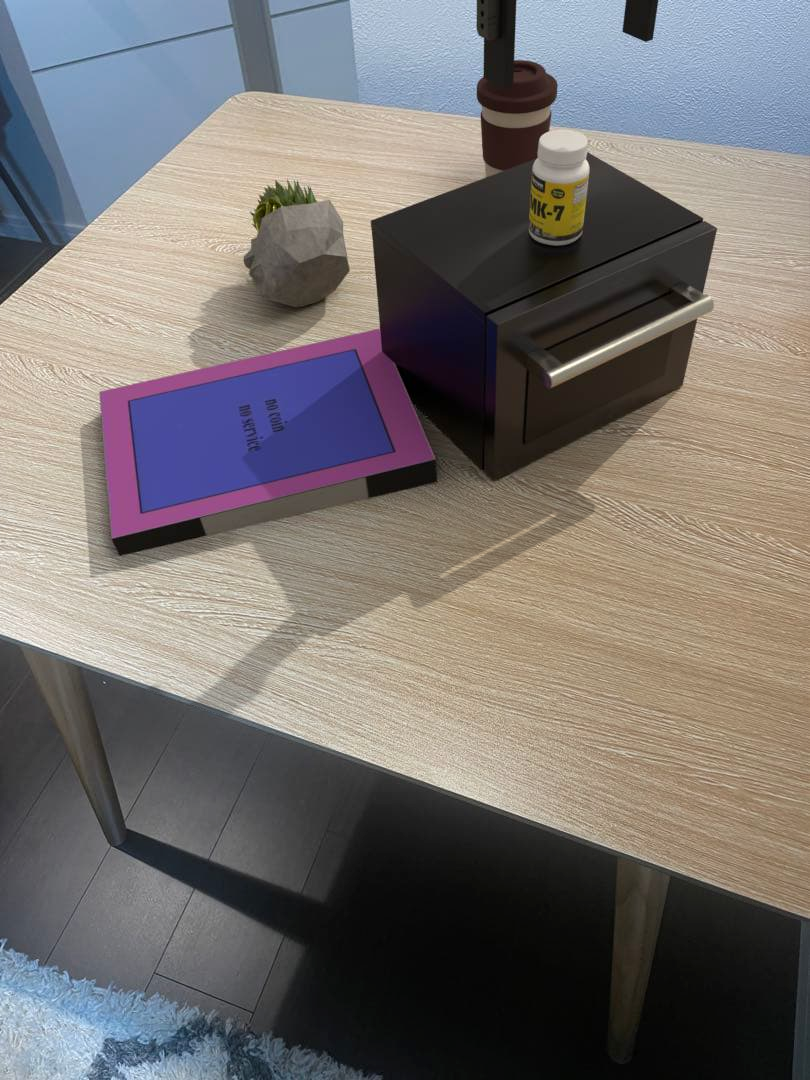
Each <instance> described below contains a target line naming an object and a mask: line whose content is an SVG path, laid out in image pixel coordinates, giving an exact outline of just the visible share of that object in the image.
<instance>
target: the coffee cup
mask: <svg viewBox="0 0 810 1080" xmlns="http://www.w3.org/2000/svg"><path fill="white" fill-rule="evenodd" d="M558 85H559V84H558V81H557V79H556V78H555V77H554V76H553V75H552V74H549V73H548V72H547V71H546V69H545V67H544V66H543V65H541V64H540V63H538V62H534V61H531V60H525V59H523V60H522V59H514V80H513V87H512V88H509V89H506V90H505V89H503V88H501V87H499V86H497V85H496V84H494V83H492V82H490V81H488V80H487V79H485V78H483V76H482V77H481V78H479V80H478V82H477V84H476V100H477V102H478V103H479V104H480V105H481V112H480V130H481V132H480V133H481V147H482V150H481V151H482V159H483V161H484V172H485V176H484V177H485V178H486V177H489V176H491V175H494V174H497V173H499V172H502V171H505V170H507V169H510V168H513V167H515V166H518V165H521V164H523V163H526V162H529V161H531V160H534V159H537V158H538V146H539V139H540V137H541V136H542V135H543V134H545V133H547V132H549V131H550V128H551V121H552V110H551V108H552V105H553V104H554V103H555V101H556V100H557V97H558V87H559V86H558Z"/></svg>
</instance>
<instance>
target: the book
mask: <svg viewBox="0 0 810 1080" xmlns="http://www.w3.org/2000/svg"><path fill="white" fill-rule="evenodd" d="M98 393H99V406H100V417H101V431H102V442H103V454H104V467H105V479H106V489H107V490H106V492H107V503H108V504H107V505H108V516H109V530H110V539H111V541H112V543H113V545H114V548H115V549H116V552H117V554H118V556H119V557H122V556H126V555H131V554H134V553H140V552H143V551H147V550H151V549H156V548H161V547H165V546H169V545H174V544H178V543H181V542H187V541H191V540H196V539H199V538H204V537H208V536H213V535H217V534H220V533H221V534H222V533H224V532H225V533H226V532H230V531H234V530H238V529H239V530H240V529H243V528H247V527H250V526H255V525H256V526H257V525H261V524H264V523H268V522H273V521H277V520H282V519H286V518H290V517H294V516H298V515H302V514H307V513H312V512H316V511H320V510H325V509H328V508H333V507H338V506H341V505H347V504H350V503H355V502H360V501H363V500H367V499H372V498H376V497H381V496H385V495H390V494H393V493H398V492H400V491H405V490H406V491H407V490H410V489H413V488H418V487H421V486H426V485H430V484H434V483H437V482H438V472H437V459H436V456H435V454H434V451H433V450H432V447H431V444H430V442H429V440H428V438H427V435H426V433H425V430H424V429H423V426H422V423H421V421H420V418H419V416H418V414H417V412H416V409H415V406H414V404H413V403H412V402H411V400H410V398H409V395H408V393H407V391H406V388H405V386H404V384H403V381H402V379H401V377H400V374H399V372H398V370H397V367H396V365H395V363H394V362H393V361H392V360H391V359H390V358H389V357H387V356H386V355H385V354H384V353H383V352H382V345H381V334H380V327H379V328H375V329H371V330H366V331H363V332H359V333H358V332H357V333H353V334H348V335H345V336H344V335H343V336H340V337H336V338H331V339H327V340H322V341H317V342H313V343H309V344H304V345H300V346H296V347H292V348H287V349H283V350H278V351H275V352H269V353H264V354H260V355H256V356H252V357H251V356H250V357H247V358H243V359H238V360H233V361H229V362H225V363H221V364H220V363H219V364H216V365H212V366H207V367H203V368H198V369H194V370H189V371H185V372H180V373H176V374H172V375H167V376H163V377H158V378H154V379H150V380H144V381H140V382H136V383H131V384H127V385H123V386H119V387H113V388H110V389H105V390H100V391H98Z"/></svg>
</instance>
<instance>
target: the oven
mask: <svg viewBox="0 0 810 1080" xmlns="http://www.w3.org/2000/svg"><path fill="white" fill-rule="evenodd" d="M535 160H536V159H534V160H531V161H529V162H526V163H523V164H521V165H518V166H515V167H513V168H510V169H507V170H505V171H502V172H499V173H497V174H494V175H491V176H489V177H486V176H485V177H484V178H480V179H478V180H476V181H473V182H470V183H468V184H464V185H462V186H459V187H456V188H454V189H451V190H448V191H446V192H443V193H440V194H438V195H435V196H432V197H430V198H427V199H425V200H422V201H419V202H416V203H413V204H411V205H409V206H405V207H403V208H401V209H398V210H395V211H392V212H390V213H387V214H385V215H381V216H379V217H377V218H373V219H371V220H370V228H371V229H370V230H371V239H372V250H373V263H374V264H373V265H374V274H375V285H376V297H377V309H378V321H379V322H378V323H379V328H380V334H381V345H382V352H383V353H384V354H385V355H386V356H387V357H389V358H390V359H391V360H392V361H393V362H394V363H395V365H396V367H397V370H398V372H399V374H400V377H401V379H402V381H403V384H404V386H405V388H406V391H407V393H408V395H409V398H410V400H411V402H412V405H413V406H414V407H416V409H418V411H420V412H421V413H422V414H423V415H424V416H425V417H426V418H427V419H428V420H429V421H430V422H431V423H432V424H433V425H434V426H435V427H436V428H437V429H438V430H439V431H440V432H441V433H442V434H443V435H445V437H446V438H447V439H449V441H451V443H452V444H453V445H454V446H456V448H457V449H459V451H461V452H462V454H463V455H465V456H466V457H467V458H468V460H470V462H471V463H473V464H474V465H475V466H476V467H477V468H478V469H479V470H480V471H481V472H484V443H485V376H486V316H487V315H489V314H491V313H494V312H496V311H498V310H500V309H503V308H505V307H507V306H510V305H512V304H514V303H517V302H519V301H521V300H523V299H526V298H528V297H530V296H533V295H535V294H537V293H540V292H542V291H544V290H547V289H549V288H551V287H553V286H556V285H558V284H560V283H563V282H565V281H567V280H570V279H572V278H574V277H576V276H579V275H581V274H583V273H586V272H588V271H590V270H593V269H595V268H597V267H599V266H602V265H604V264H606V263H609V262H611V261H613V260H616V259H618V258H620V257H623V256H625V255H627V254H629V253H632V252H634V251H636V250H639V249H641V248H643V247H646V246H648V245H650V244H652V243H655V242H657V241H659V240H662V239H664V238H666V237H669V236H671V235H673V234H676V233H678V232H680V231H682V230H685V229H687V228H689V227H692V226H694V225H696V224H699V223H701V222H703V221H704V217H702V216H701V215H698V214H697V213H696V212H693V211H692V210H690V209H688V208H686V207H685V206H683V205H681V204H679V203H678V202H675V200H672V199H670V198H669V197H667V196H665V195H664V194H662V193H660V192H658V191H657V190H655V189H654V188H652V187H649V186H648V185H646V184H645V183H642V182H641V181H639V180H638V179H635V178H634V177H632V176H630V175H629V174H627V173H625V172H624V171H622V170H619V169H618V168H616V167H615V166H613V165H611V164H609V163H608V162H606V161H604V160H602V159H601V158H599V157H597V156H596V155H593V154H592V153H590V152H588V151H587V156H586V160H587V162H588V164H589V179H588V188H587V197H586V205H585V215H584V222H583V231H582V234H581V236H580V237H579V238H578V239H577V240H576V241H574V242H572V243H570V244H567V245H560V246H553V245H547V244H543V243H540V242H538V241H536V240H535V239H533V238H532V237H531V235H530V233H529V215H530V198H531V182H532V168H533V164H534V162H535Z"/></svg>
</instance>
